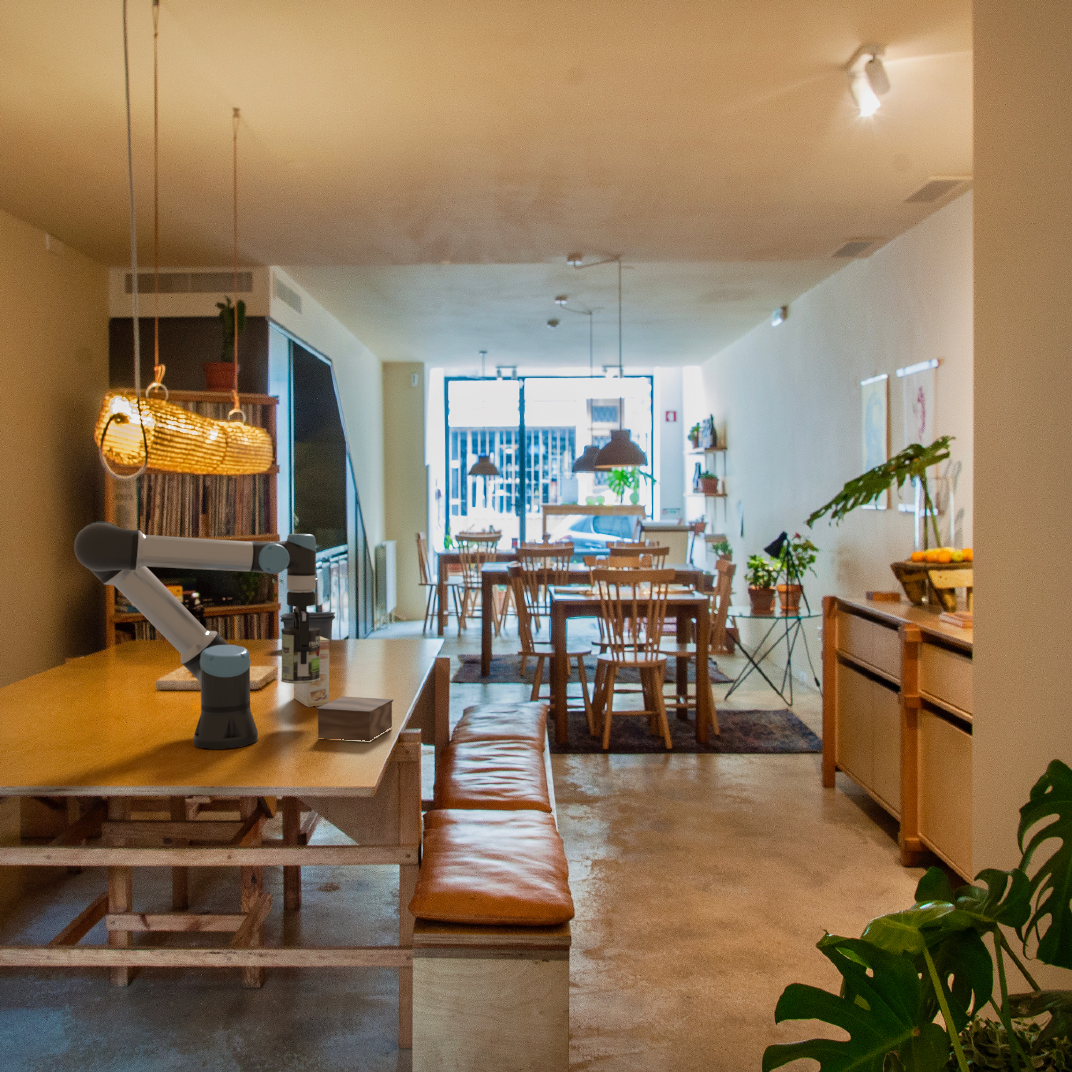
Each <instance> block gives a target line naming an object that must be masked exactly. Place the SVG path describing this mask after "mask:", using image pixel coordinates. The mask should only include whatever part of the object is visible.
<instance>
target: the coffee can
mask: <svg viewBox="0 0 1072 1072" xmlns="http://www.w3.org/2000/svg"><path fill="white" fill-rule="evenodd" d="M280 630H281V680H280V681H281V682H282V683H286V684H294V683H295V684H301V683H312V682H317V681H319V680H320V630H321V629H320V628H317V627H309V647H310V650H309V651H308V652H309V654H308V676H298V652H296V649H299V646H298V635H299V631H298V629H296V628H295V627H287V628H284V627H283V628H281V629H280Z"/></svg>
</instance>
